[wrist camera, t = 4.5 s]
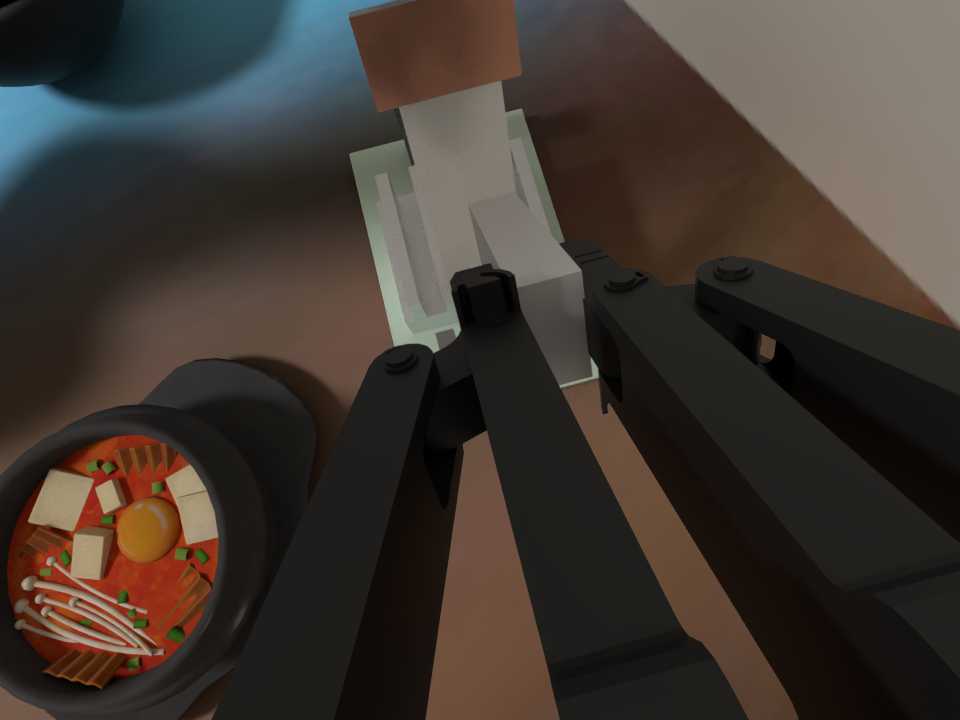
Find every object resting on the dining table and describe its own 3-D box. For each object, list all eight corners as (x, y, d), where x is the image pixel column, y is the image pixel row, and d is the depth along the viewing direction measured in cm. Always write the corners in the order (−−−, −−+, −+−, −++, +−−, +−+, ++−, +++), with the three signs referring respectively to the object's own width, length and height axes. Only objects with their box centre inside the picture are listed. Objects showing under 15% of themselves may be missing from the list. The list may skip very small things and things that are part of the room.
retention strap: (544, 325, 29) (550, 338, 28) (452, 350, 28) (455, 364, 28) (503, -28, 17) (511, -25, 16) (349, 12, 17) (349, 18, 16)
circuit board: (604, 377, 35) (607, 374, 34) (416, 428, 35) (413, 427, 34) (520, 118, 39) (521, 108, 38) (353, 162, 39) (349, 153, 38)
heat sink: (577, 350, 34) (602, 318, 26) (427, 391, 34) (404, 371, 26) (505, 119, 38) (506, 28, 30) (369, 155, 38) (333, 73, 30)
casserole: (212, 783, 31) (109, 901, 23) (-18, 648, 33) (-188, 711, 25) (385, 425, 35) (351, 416, 27) (170, 325, 37) (77, 288, 29)
